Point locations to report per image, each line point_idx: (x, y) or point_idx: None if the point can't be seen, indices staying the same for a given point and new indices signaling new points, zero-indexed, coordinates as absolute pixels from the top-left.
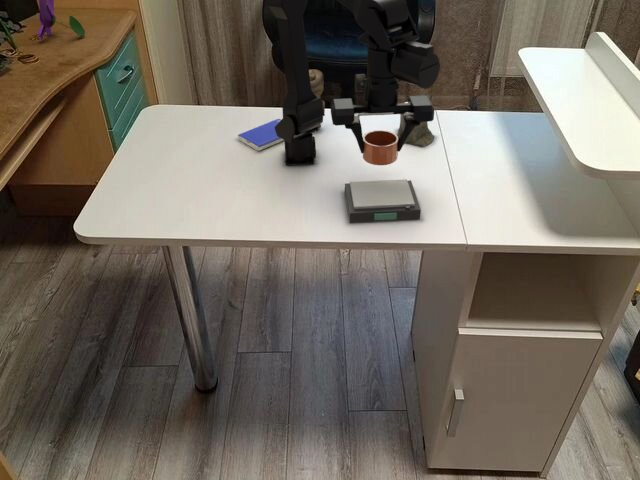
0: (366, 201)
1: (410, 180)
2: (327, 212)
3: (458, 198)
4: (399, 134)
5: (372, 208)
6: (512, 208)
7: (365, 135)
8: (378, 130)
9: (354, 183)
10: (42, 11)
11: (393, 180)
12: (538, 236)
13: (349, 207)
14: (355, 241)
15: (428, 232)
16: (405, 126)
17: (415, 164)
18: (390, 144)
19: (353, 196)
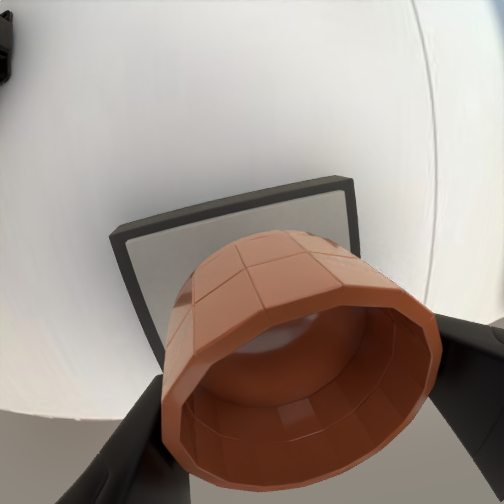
0: None
1: (351, 181)
2: (100, 330)
3: (438, 208)
4: (458, 375)
5: None
6: (497, 235)
7: (176, 417)
8: (307, 300)
9: (145, 252)
10: None
11: (297, 206)
12: (494, 307)
13: (162, 367)
14: None
15: None
16: (494, 491)
17: (344, 25)
18: (369, 452)
19: (161, 331)
